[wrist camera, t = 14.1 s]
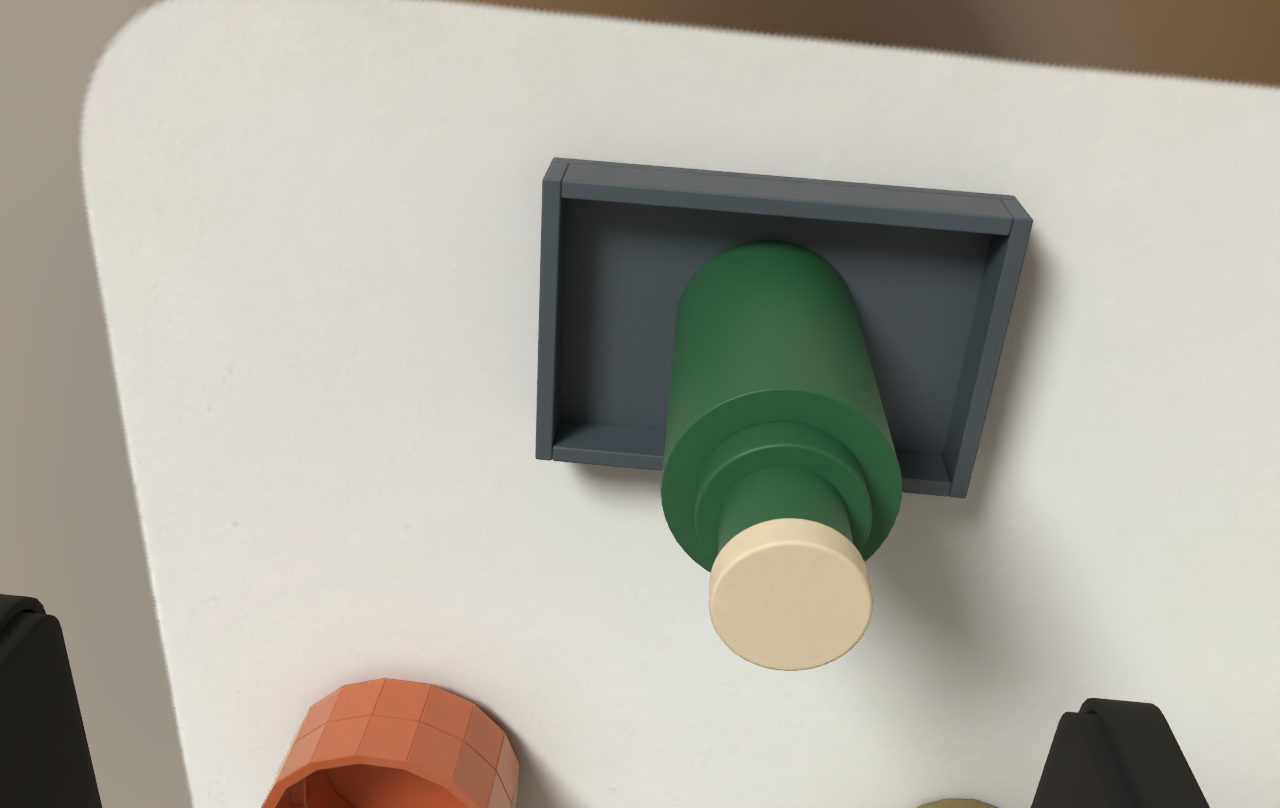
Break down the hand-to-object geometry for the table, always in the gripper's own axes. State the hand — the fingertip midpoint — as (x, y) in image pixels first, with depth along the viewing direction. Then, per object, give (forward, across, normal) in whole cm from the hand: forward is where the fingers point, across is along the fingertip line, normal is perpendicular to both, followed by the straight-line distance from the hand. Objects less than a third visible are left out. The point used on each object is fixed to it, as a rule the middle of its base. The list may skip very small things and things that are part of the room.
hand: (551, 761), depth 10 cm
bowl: (+28, +9, +30) cm, 42 cm away
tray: (+28, -4, +7) cm, 29 cm away
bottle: (+28, -4, +7) cm, 29 cm away
